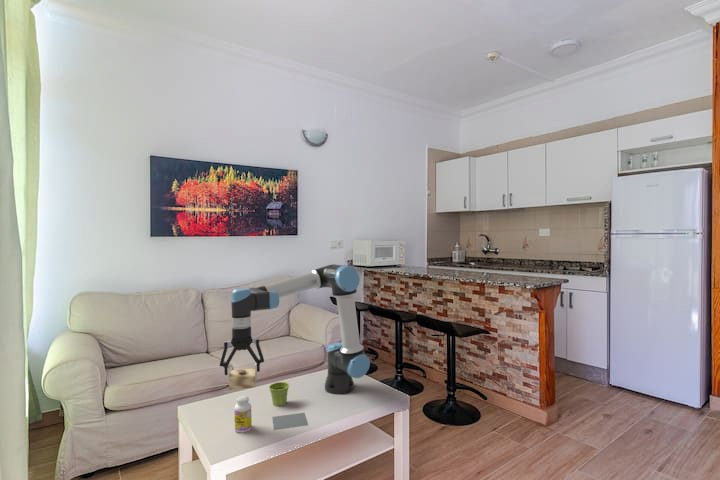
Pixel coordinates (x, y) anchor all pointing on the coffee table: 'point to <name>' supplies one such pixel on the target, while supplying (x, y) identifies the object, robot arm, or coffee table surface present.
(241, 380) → the lid
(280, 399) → the plant pot
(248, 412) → the supplement bottle
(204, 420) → the coffee table surface
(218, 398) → the coffee table surface
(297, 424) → the mat
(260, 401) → the coffee table surface
